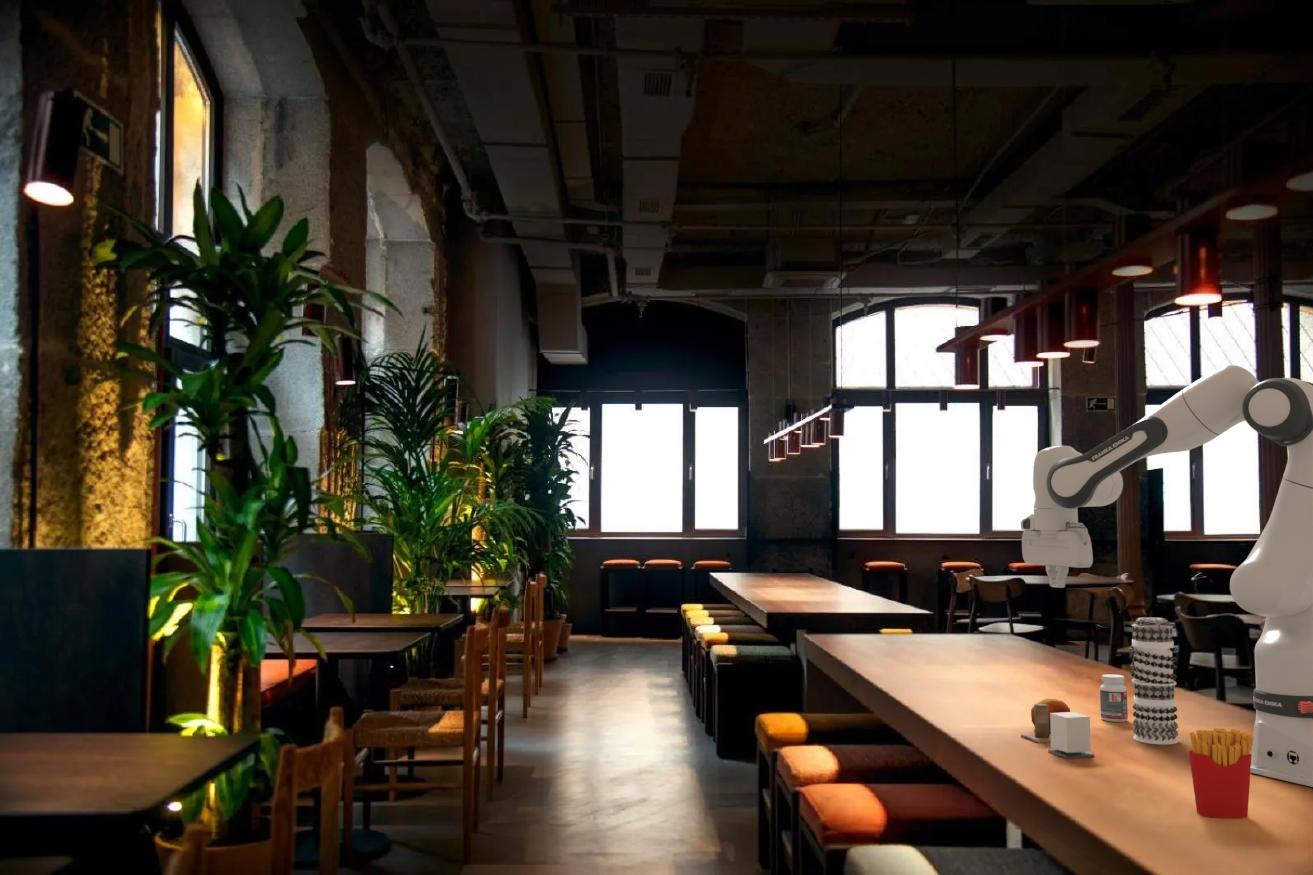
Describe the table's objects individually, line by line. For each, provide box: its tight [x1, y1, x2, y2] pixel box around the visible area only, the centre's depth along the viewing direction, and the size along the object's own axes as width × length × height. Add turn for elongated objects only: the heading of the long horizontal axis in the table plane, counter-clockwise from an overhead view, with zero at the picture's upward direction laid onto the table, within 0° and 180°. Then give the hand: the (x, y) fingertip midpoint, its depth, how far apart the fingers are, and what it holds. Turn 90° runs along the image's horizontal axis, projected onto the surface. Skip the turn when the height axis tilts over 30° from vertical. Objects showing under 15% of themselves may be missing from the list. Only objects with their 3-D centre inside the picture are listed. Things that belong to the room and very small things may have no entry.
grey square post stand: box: [1047, 748, 1095, 760], centre depth 214 cm, size 6×6×7 cm
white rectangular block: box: [1050, 711, 1092, 753], centre depth 214 cm, size 5×5×7 cm
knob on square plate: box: [1020, 703, 1051, 744], centre depth 228 cm, size 6×6×7 cm
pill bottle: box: [1099, 673, 1129, 723], centre depth 249 cm, size 6×6×10 cm
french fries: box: [1188, 727, 1254, 819], centre depth 172 cm, size 9×4×13 cm, turn 85°
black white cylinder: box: [1128, 616, 1179, 746], centre depth 228 cm, size 9×9×25 cm
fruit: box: [1030, 698, 1071, 733], centre depth 237 cm, size 8×8×8 cm
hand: (1057, 587), depth 234 cm, fingers closed
